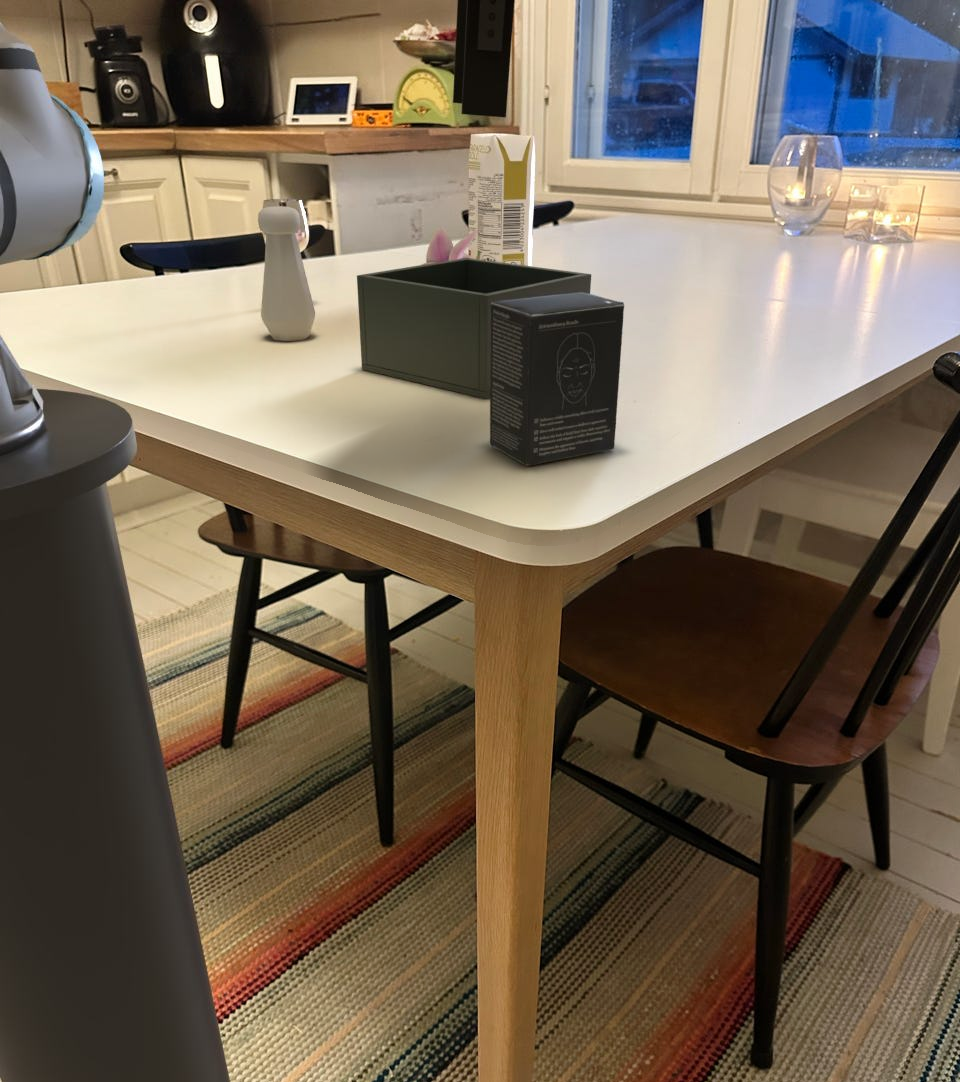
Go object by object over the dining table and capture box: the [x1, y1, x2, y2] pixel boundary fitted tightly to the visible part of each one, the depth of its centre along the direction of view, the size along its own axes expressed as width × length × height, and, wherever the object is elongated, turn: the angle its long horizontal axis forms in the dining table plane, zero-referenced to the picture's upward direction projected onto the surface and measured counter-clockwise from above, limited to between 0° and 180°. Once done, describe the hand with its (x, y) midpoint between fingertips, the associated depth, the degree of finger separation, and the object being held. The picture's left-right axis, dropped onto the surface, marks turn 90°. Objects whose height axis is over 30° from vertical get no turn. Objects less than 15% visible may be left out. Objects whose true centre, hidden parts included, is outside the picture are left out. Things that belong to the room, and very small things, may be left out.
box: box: [489, 292, 625, 467], centre depth 66 cm, size 8×6×11 cm
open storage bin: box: [356, 258, 592, 400], centre depth 88 cm, size 16×16×9 cm
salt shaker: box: [257, 206, 316, 342], centre depth 98 cm, size 6×6×13 cm
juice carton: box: [468, 132, 536, 266], centre depth 126 cm, size 8×9×19 cm
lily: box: [421, 226, 478, 265], centre depth 113 cm, size 12×12×10 cm
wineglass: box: [261, 198, 310, 253], centre depth 115 cm, size 6×6×12 cm
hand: (476, 110), depth 62 cm, fingers open, 13 cm apart
